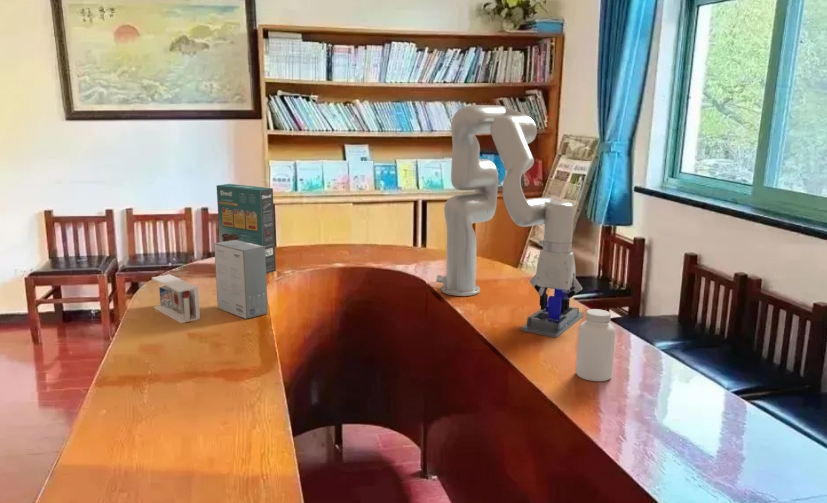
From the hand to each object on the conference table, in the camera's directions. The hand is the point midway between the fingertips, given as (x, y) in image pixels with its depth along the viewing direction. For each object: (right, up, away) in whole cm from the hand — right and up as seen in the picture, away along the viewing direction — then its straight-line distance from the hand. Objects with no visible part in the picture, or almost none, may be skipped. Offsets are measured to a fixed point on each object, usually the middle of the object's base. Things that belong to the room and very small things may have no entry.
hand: (554, 309), depth 187 cm
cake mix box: (-100, +10, +59) cm, 116 cm away
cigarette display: (-107, -2, +6) cm, 108 cm away
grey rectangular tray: (0, -4, +1) cm, 4 cm away
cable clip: (0, -1, +1) cm, 1 cm away
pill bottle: (+2, -12, -35) cm, 37 cm away
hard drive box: (-89, -1, +9) cm, 90 cm away
